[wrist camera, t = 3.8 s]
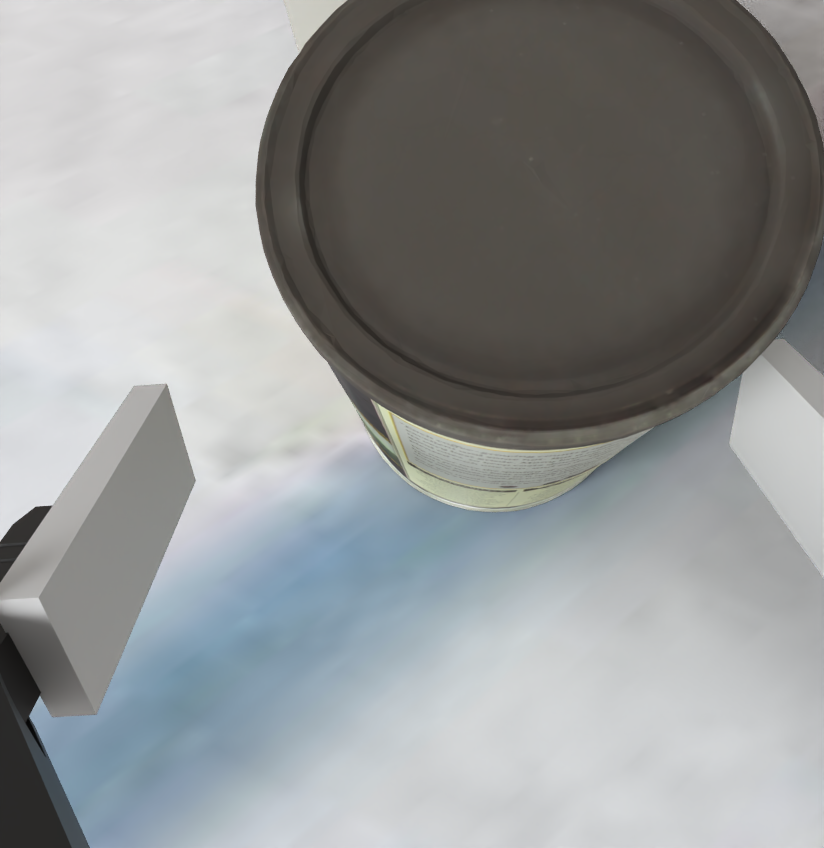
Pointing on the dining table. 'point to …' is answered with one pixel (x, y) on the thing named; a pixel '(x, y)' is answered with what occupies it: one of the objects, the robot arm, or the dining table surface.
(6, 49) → the dining table surface
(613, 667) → the dining table surface
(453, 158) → the coffee can
